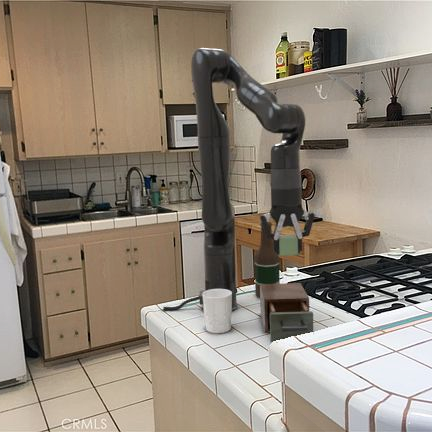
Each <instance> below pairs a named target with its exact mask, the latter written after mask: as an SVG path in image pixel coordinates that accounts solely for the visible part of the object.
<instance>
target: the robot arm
mask: <svg viewBox="0 0 432 432" xmlns="http://www.w3.org/2000/svg"><path fill="white" fill-rule="evenodd" d="M190 69H191V70H190V72H191V74H190V75H191V80H192V89H193V94H194V101H195V109H196V111H195V112H196V123H197V124H196V126H197V148H198V159H199V160H198V161H199V169H200V174H201V181H202V201H201V202H202V203H201V215H200V216H201V220H202V223H203V227H204V229H203V230H204V236H203V237H204V240H203V256H204V259H203V260H204V290H199V294H198V295H199V296H195V297H191V298H189V299H186V300H184V301H182V302H181V303H180V304H179V305H177V306H163V307H162V309H163V311H176V310H177V311H178V310H180V309H182V308H183V307H184V306H185V305H187V304H189V303H191V302H196V301H199V305H200V306H203V295H202V293H203V292H204V291H207V290H210V289H226V290H229V291H231V292H232V310H231V312H232V311H235V310H236V309H237V308H238V303H237V301H238V300H237V294H238V288H237V274H236V270H237V269H236V220H235V219H236V217H235V216H236V215H235V208H234V205H233V204H232V203H231V198H230V190H229V176H230V175H229V174H230V168H231V167H230V166H231V133H230V128H229V125H228V123H227V120H226V119H225V117H224V115H223V114H222V112H221V111H220V109H219V107H218V105H217V102H216V100H215V95H214V88H213V84H225V85H227V86H229V87H231V88H232V89H233V90H234V91H235V92H234V93H235V96H236V99H237V100H238V101H239V103H240V104H241V105H242V106H243V107H245V108H246V110H248V111H249V112H251V113H252V114H253V115H255V117H256V119H257V121H258V122H259V124H260V125H261V126H262V128H263V129H264V130H265V131H267V132H269V133H271V134H275V135H278V134H280V135H281V134H282V136H281V139H280V142H278V143H276V144H273V145H272V146H271V148H270V182H269V185H270V186H269V187H270V204H271V205H270V210H269V212H267V213H265V214H263V213H261V214H259V220H260V224H261V223H262V225H263V228H264V231H265V234H266V236H267V238H271V239H272V241H273V250H274V252H276V254H277V255H278V256H280V255H279V254H280V249H279V235H281V232H282V230H283V228H286V227H290V228H292V229H293V231H294V233H295V236H296V237H297V238H298V255H299V254H300V253H301V252H302V251H303V239H304V238H306V237H309V236H310V233H311V230H312V227H313V223H314V219H315V215H316V214H315V213H314V212H312V211H307V210H304V208H303V203H302V202H303V199H302V197H303V196H302V193H303V191H302V172H301V159H300V158H301V157H300V150H301V145H302V143H303V137H304V133H305V128H306V115H305V112H304V110H303V108H302V107H301V106H300V105H299V104H295V103H278V98H277V96H276V94H275V93H274V92H273V91H271V90H270V89H269V88H267V86H265V85H263V84H262V83H260V82H259V81H258V80H256V79H255V78H253V76H251V74H249V72H247V70H245V69H244V68H243V66H242V65H240V63H239V62H238V60H236V59H235V58H234V56H232V55H231V54H230V53H229V52H228V51H226V50H225V49H220V48H219V49H218V48H206V47H205V48H204V47H201V48H197V49H196V50H195V51H194V52H193V54H192V56H191V61H190ZM303 216H304V217H303ZM302 217H303V219H304V220H305V223H304V227H303V230H301V228H300V225H299V222H300V221H301V219H302ZM270 218H272V220H273V221H274V222H275V225H274V230H273V232H272V233H270V230H269V227H268V224H267V222H270Z"/></svg>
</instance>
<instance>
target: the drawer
mask: <svg viewBox="0 0 432 432" xmlns="http://www.w3.org/2000/svg"><path fill="white" fill-rule="evenodd" d="M268 323H269V326H270V333H269V337H270V339H269V341H270V343H271V342H273V341H276V340H280V339H285V338H288V337H291V336H297V335H301V334H305V333H310V332H313V333H314V312H313V311H312V310H311V311H310V310H309V312H308V309H307V307H306V305H305V303H304V301H292V302H268Z"/></svg>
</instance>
